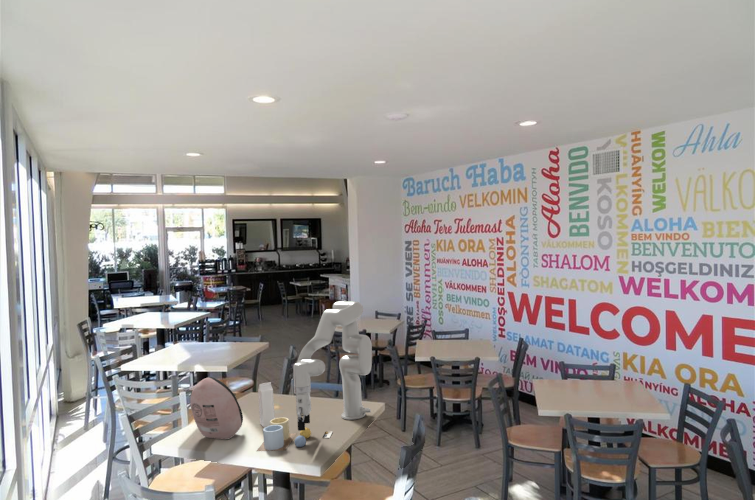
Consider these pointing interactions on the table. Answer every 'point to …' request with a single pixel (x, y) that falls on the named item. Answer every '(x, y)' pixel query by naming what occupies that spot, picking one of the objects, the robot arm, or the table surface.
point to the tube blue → (273, 437)
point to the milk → (266, 403)
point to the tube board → (288, 441)
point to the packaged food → (215, 409)
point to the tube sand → (284, 423)
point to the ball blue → (300, 441)
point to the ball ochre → (305, 432)
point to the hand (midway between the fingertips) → (304, 426)
